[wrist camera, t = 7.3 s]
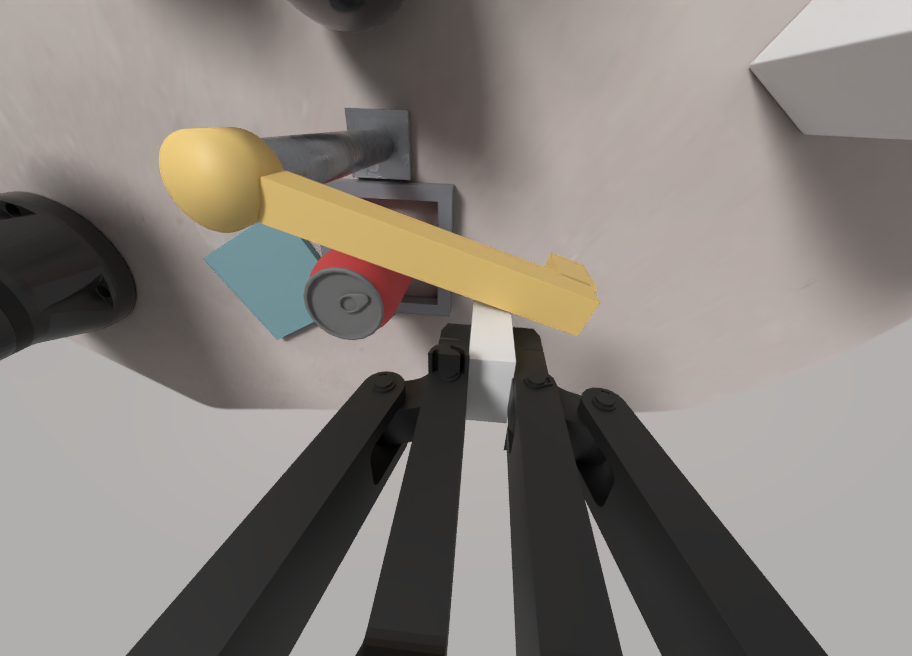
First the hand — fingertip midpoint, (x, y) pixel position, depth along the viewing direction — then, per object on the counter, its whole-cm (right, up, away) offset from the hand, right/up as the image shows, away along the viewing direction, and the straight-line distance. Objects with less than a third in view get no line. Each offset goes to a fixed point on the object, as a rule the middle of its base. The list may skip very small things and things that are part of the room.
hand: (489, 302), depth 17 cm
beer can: (-8, +7, +17) cm, 20 cm away
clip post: (-8, +14, +12) cm, 20 cm away
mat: (-20, +4, +19) cm, 28 cm away
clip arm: (-3, +4, -1) cm, 5 cm away
